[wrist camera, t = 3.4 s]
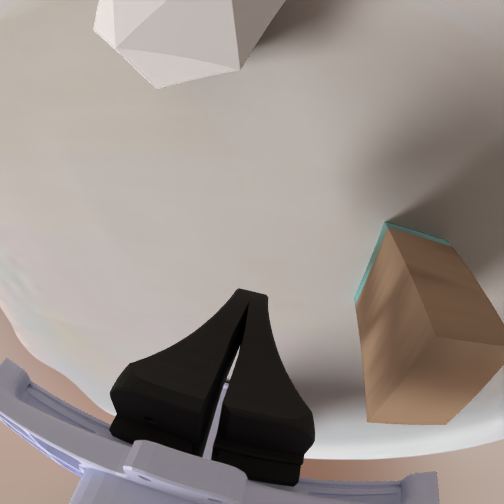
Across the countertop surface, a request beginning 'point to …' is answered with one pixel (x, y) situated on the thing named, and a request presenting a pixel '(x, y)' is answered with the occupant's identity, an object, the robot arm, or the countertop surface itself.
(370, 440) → the countertop surface
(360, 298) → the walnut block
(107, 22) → the die
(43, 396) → the robot arm
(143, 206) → the countertop surface
